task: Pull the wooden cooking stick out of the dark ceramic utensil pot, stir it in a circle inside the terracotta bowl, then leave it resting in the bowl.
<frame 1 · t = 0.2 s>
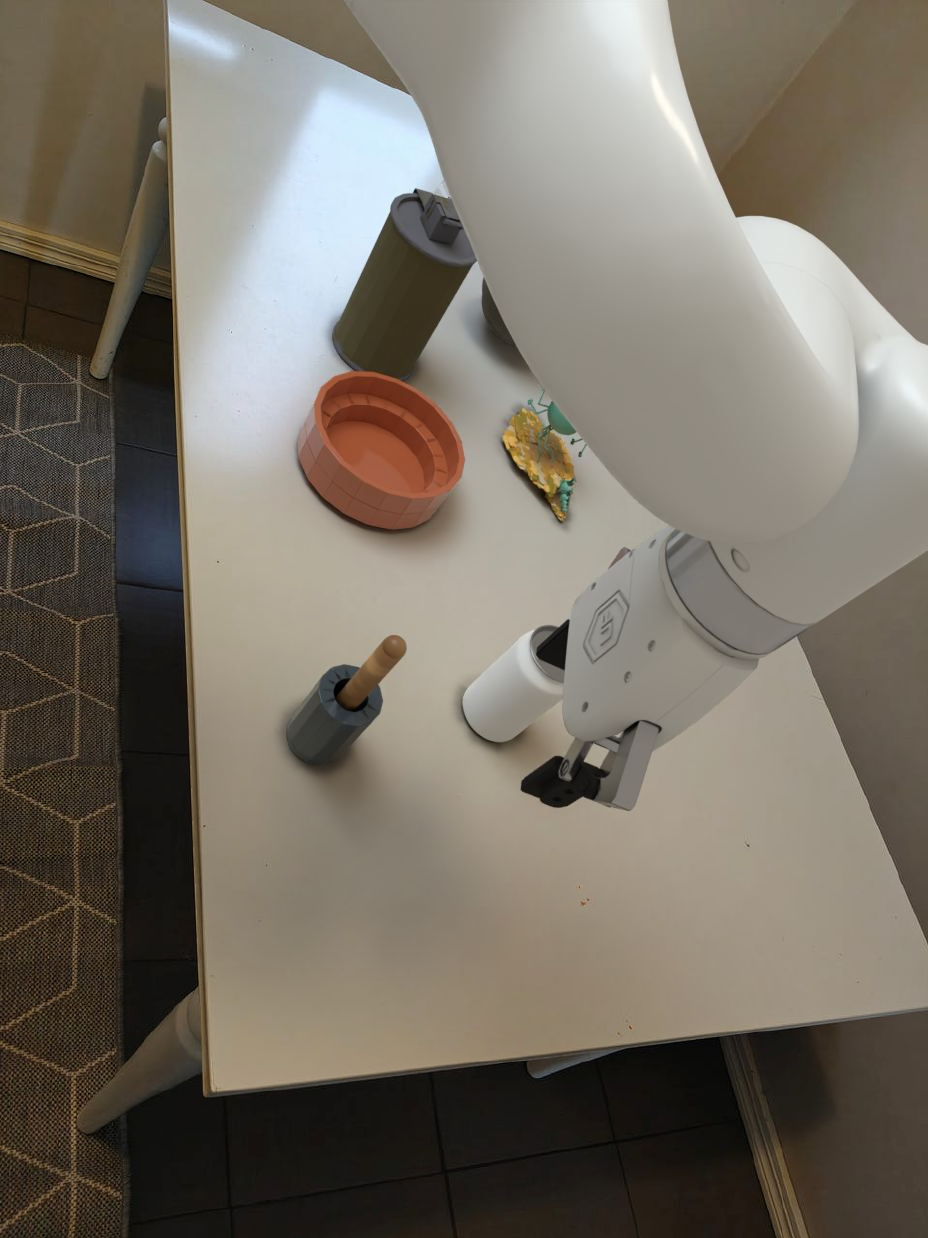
hand: (548, 724, 53), 23 cm above the table, tool pointing down, fingers open, 9 cm apart
utensil pot: (316, 736, 71), on the table
insect on leaf figurine: (533, 463, 105), on the table
can: (489, 713, 82), on the table
cantaloupe: (503, 338, 116), on the table
canister: (372, 350, 101), on the table
stick: (319, 732, 71), point 1 cm above the table, touching utensil pot
grater: (476, 222, 128), on the table
bowl: (369, 469, 91), on the table
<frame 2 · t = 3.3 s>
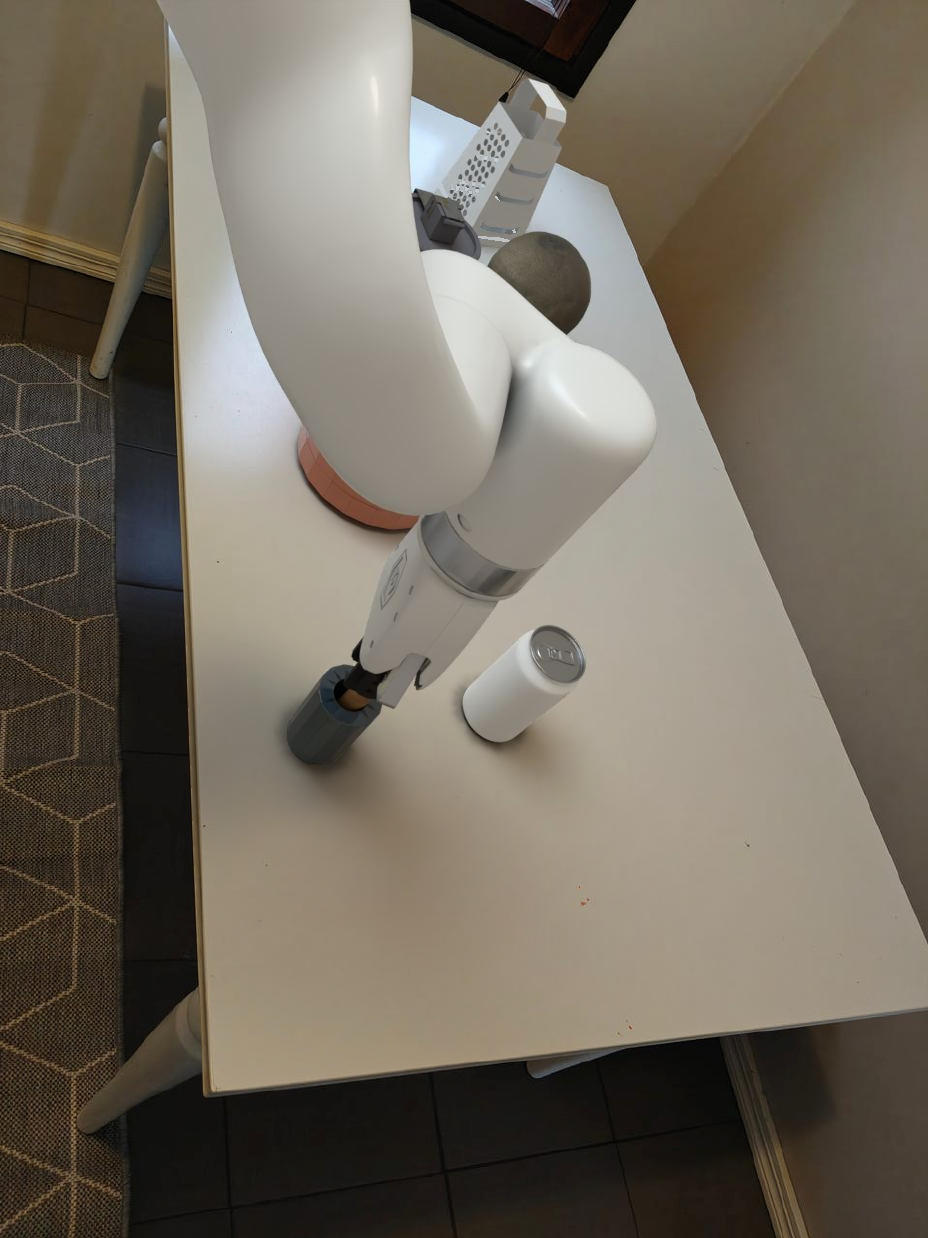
hand: (366, 676, 63), 11 cm above the table, tool pointing down, fingers closed on stick, 1 cm apart
stick: (319, 732, 71), point 1 cm above the table, touching gripper, utensil pot
everything else where it was.
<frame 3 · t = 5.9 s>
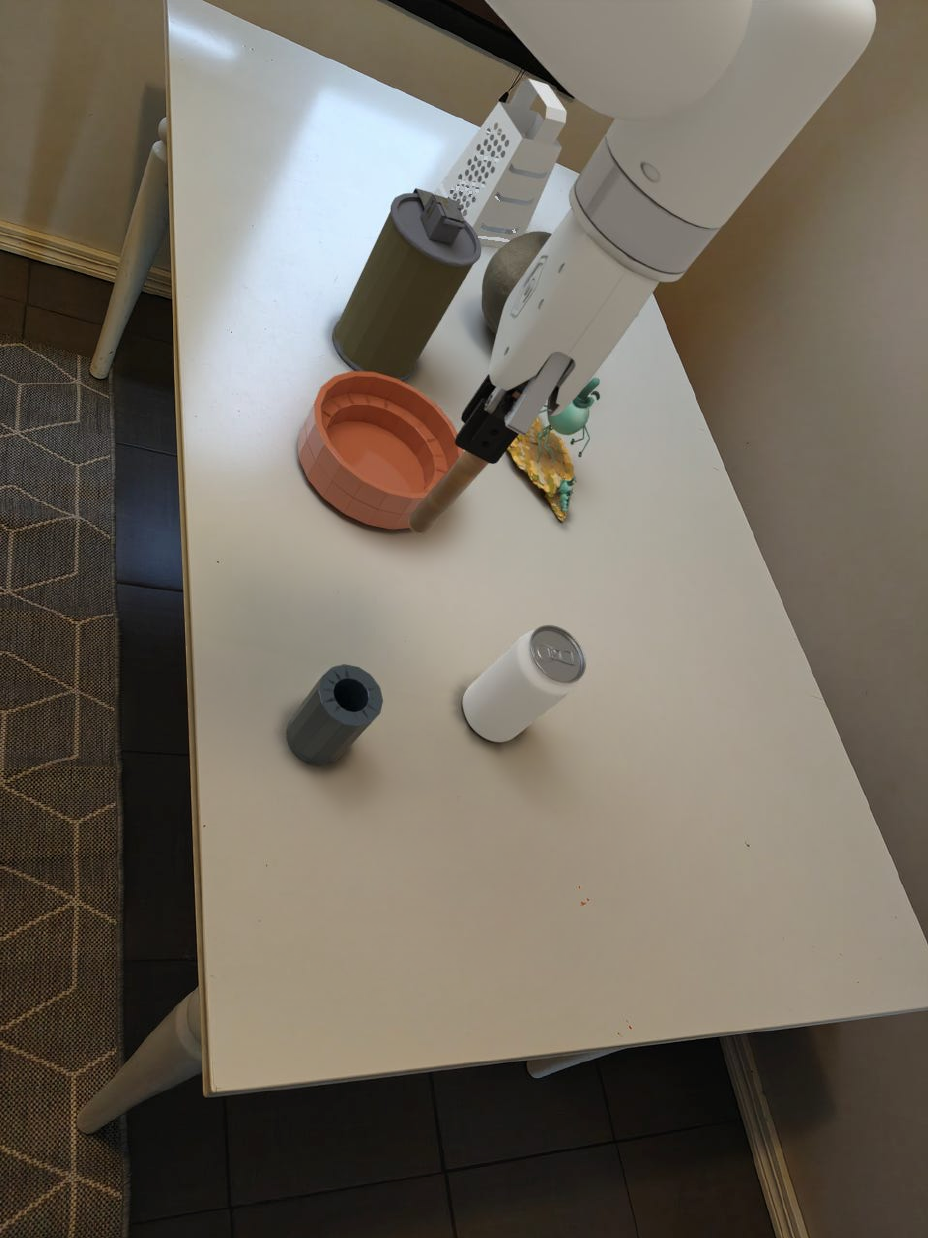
hand: (478, 438, 58), 27 cm above the table, tool pointing down, fingers closed on stick
stick: (414, 528, 65), point 17 cm above the table, touching gripper
everything else where it was.
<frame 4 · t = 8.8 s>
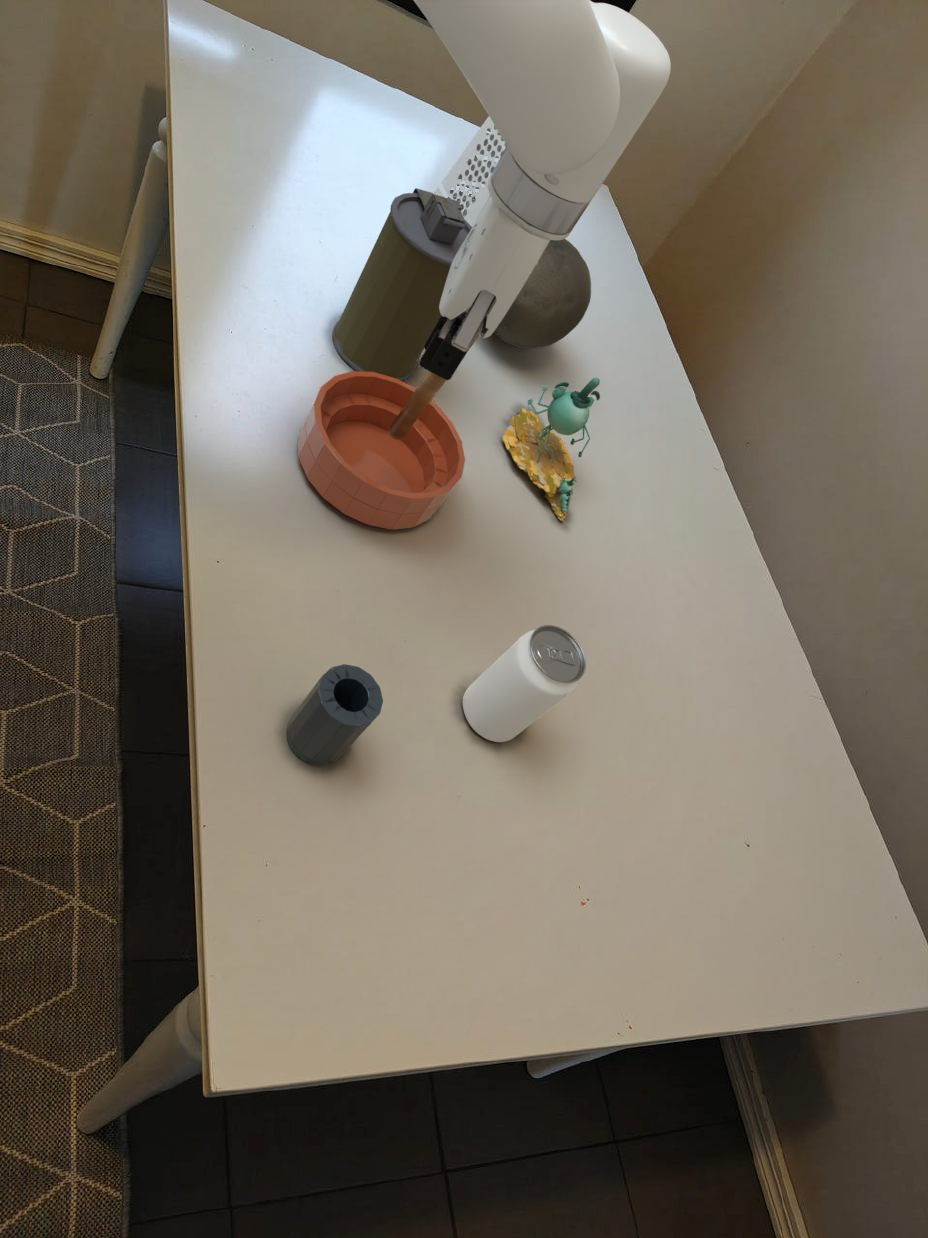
hand: (436, 362, 79), 16 cm above the table, tool pointing down, fingers closed on stick
stick: (393, 436, 87), point 5 cm above the table, touching gripper
everything else where it was.
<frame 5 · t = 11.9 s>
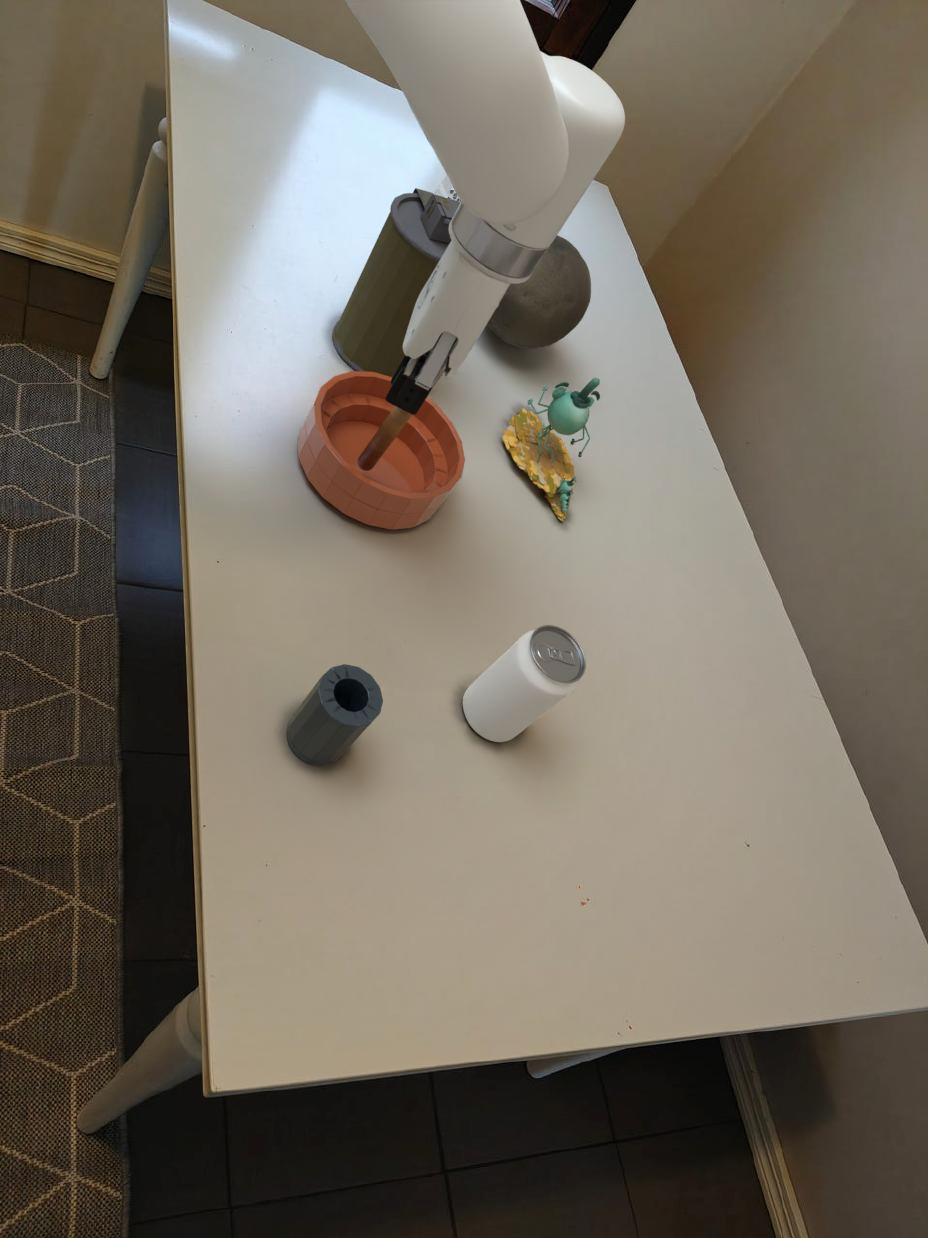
hand: (403, 396, 80), 12 cm above the table, tool pointing down, fingers closed on stick, 1 cm apart
stick: (362, 467, 87), point 2 cm above the table, touching gripper
everything else where it was.
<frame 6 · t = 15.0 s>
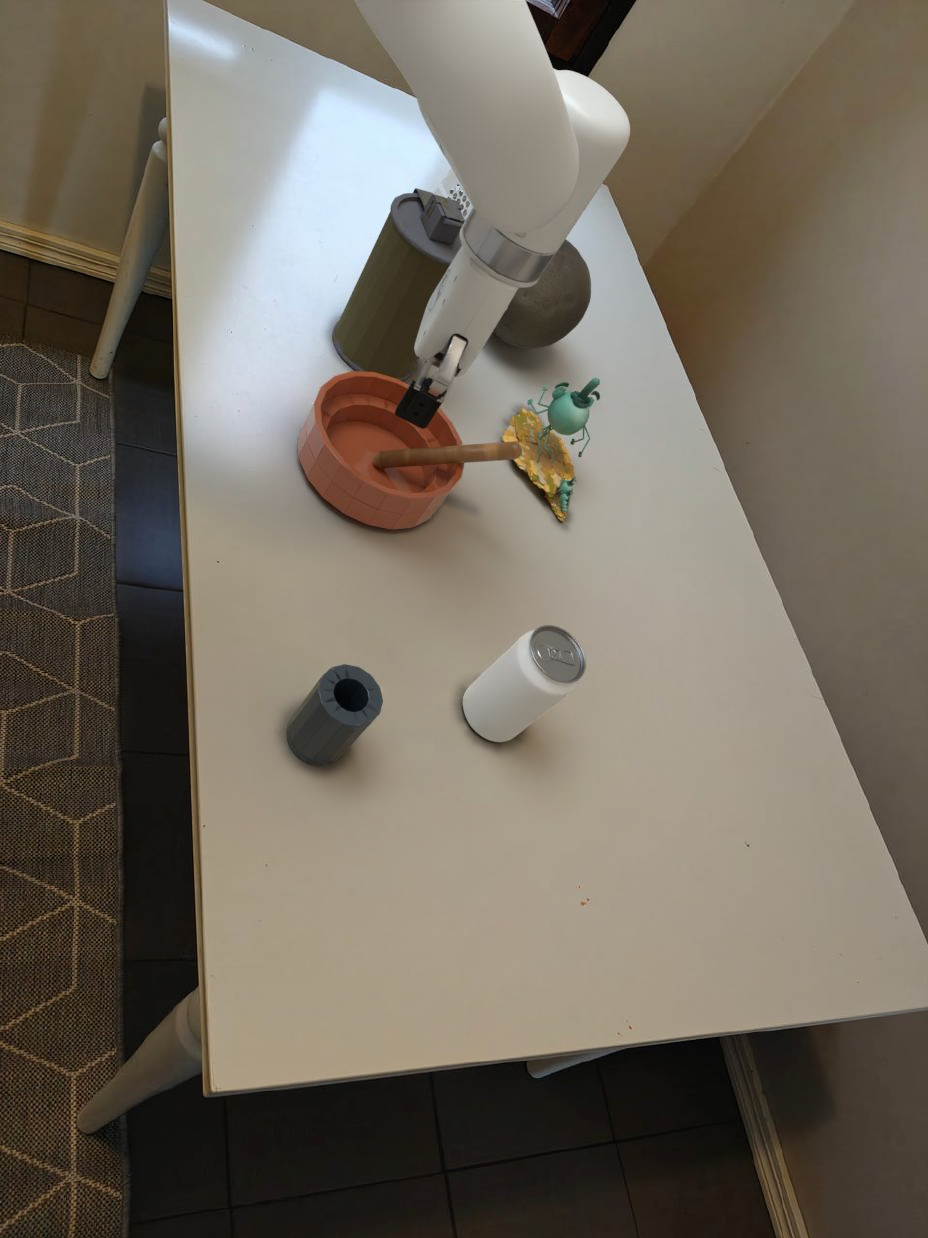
hand: (418, 388, 82), 12 cm above the table, tool pointing down, fingers open, 9 cm apart
stick: (373, 460, 90), point 1 cm above the table, tilted 52°, touching bowl
everything else where it was.
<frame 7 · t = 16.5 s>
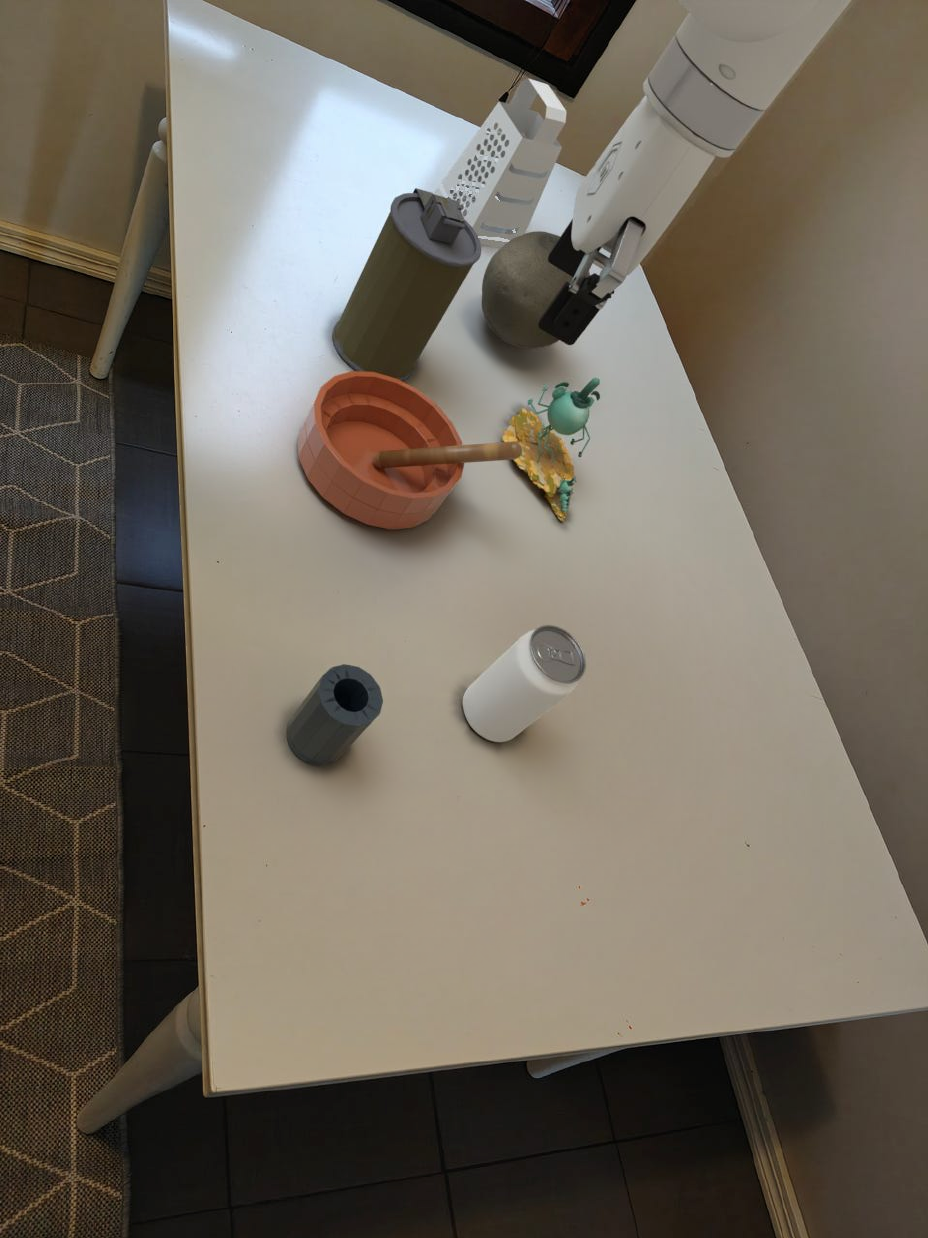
hand: (558, 300, 68), 29 cm above the table, tool pointing down, fingers open, 9 cm apart
nothing on the table moved.
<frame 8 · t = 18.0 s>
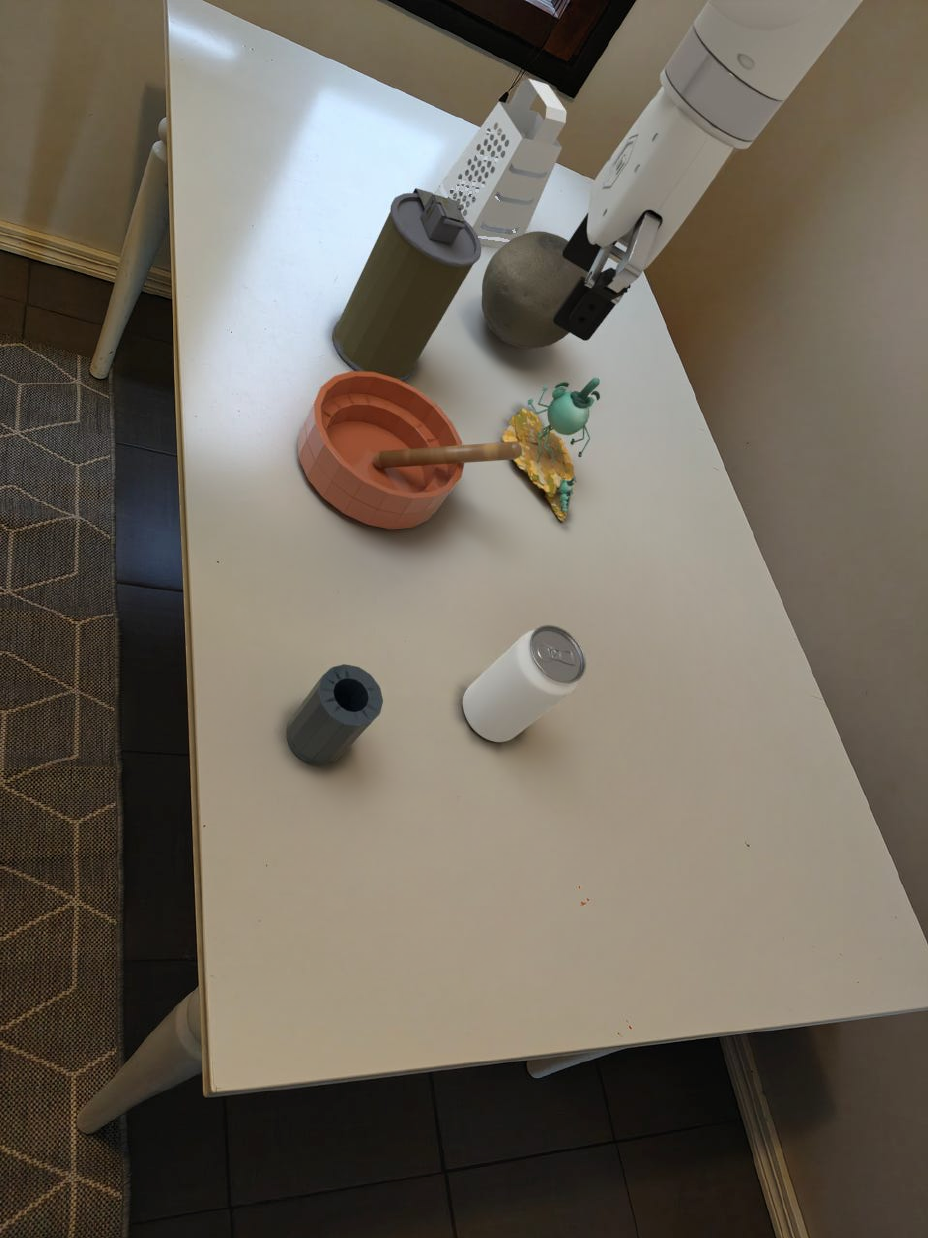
hand: (573, 295, 68), 30 cm above the table, tool pointing down, fingers open, 9 cm apart
nothing on the table moved.
at the end: stick inside the target area in the bowl (0.4 cm from its centre), point 1.1 cm above the bowl's base; stick moved 32.5 cm from its start; the gripper is holding nothing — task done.
